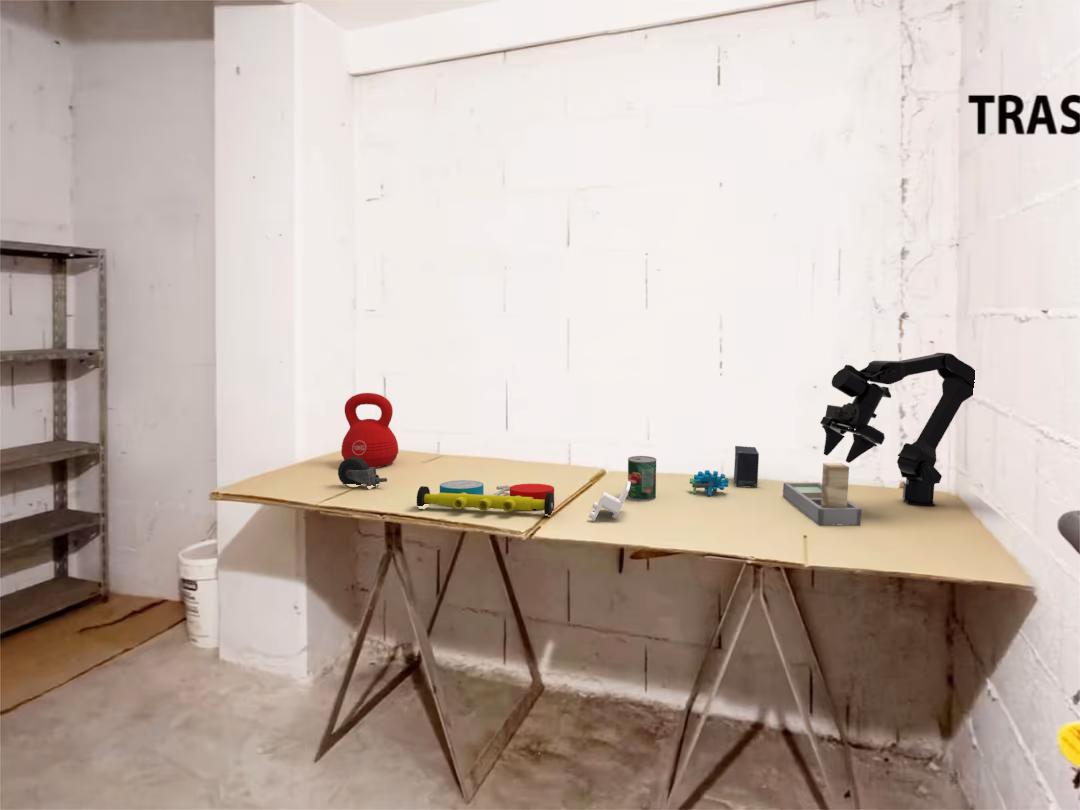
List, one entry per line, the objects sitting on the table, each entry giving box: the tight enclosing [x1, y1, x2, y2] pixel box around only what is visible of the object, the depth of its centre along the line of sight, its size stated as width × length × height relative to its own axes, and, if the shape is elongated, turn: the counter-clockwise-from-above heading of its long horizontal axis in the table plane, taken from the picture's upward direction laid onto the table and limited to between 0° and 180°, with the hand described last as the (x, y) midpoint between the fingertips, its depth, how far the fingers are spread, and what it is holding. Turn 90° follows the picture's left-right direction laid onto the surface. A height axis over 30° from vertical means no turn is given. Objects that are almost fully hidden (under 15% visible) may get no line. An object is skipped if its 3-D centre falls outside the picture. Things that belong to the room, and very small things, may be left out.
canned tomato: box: [627, 455, 657, 502], centre depth 193 cm, size 8×8×11 cm
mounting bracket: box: [588, 480, 631, 522], centre depth 176 cm, size 12×6×11 cm, turn 170°
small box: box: [733, 445, 760, 488], centre depth 208 cm, size 11×6×10 cm, turn 168°
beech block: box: [821, 462, 850, 508], centre depth 170 cm, size 4×4×11 cm
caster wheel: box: [337, 457, 388, 487], centre depth 206 cm, size 6×10×15 cm
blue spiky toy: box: [689, 469, 730, 497], centre depth 196 cm, size 11×6×10 cm
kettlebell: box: [341, 392, 399, 468], centre depth 236 cm, size 19×19×25 cm
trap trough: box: [782, 482, 862, 526], centre depth 180 cm, size 26×10×4 cm, turn 179°
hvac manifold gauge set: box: [416, 479, 555, 515], centre depth 188 cm, size 36×6×25 cm
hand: (836, 458), depth 179 cm, fingers open, 9 cm apart
